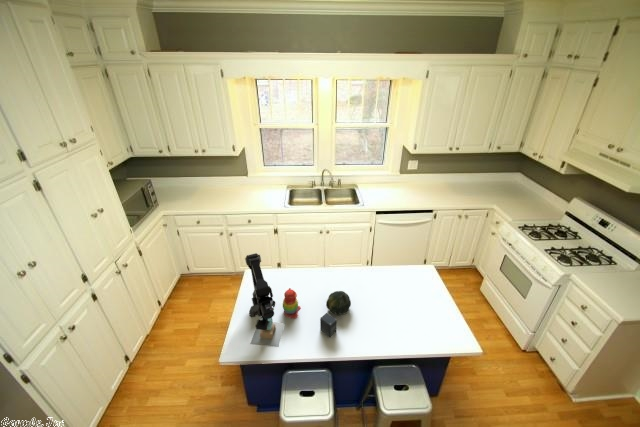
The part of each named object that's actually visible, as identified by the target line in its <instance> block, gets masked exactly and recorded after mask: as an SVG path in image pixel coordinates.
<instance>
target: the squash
mask: <svg viewBox="0 0 640 427" xmlns="http://www.w3.org/2000/svg"><path fill="white" fill-rule="evenodd" d="M325 303H326V305H325V306H326V308H327V309H328V311H329V313H331V314H333V315H337V316H339V315H344V314H347V313H349V311H350V307H351V305H352V302H351V298H350V296H349V295H348V293H346V292H345V291H344V290H337V291H333V292H331V293H330V294H329V295H328V298H327V299H326V302H325Z"/></svg>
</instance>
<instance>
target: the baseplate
mask: <svg viewBox="0 0 640 427" xmlns="http://www.w3.org/2000/svg"><path fill="white" fill-rule="evenodd" d="M273 324H275V327H276V329H275V333H274V336H273V339H267V338H260V331H261V330H260V329H256V328H255V329H254V330H255V331H254V332H253V336H252V338H251V340H250V345H256V346H257V345H258V346H266V347H267V346H268V347H275V348H279V346H280V343H281V341H282V340H281V339H282V336H283V332H284V328H285V324H286V323H285V322H278V321H277V322H274V321H273Z"/></svg>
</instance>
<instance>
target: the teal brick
mask: <svg viewBox="0 0 640 427" xmlns="http://www.w3.org/2000/svg"><path fill="white" fill-rule="evenodd" d="M262 319H263V318H261V319H260V320H262ZM268 321H270V323H269V325H268V328H267V330H271V327H272V324H273V322H274V321H273V317H272V318H270V319H268Z"/></svg>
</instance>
